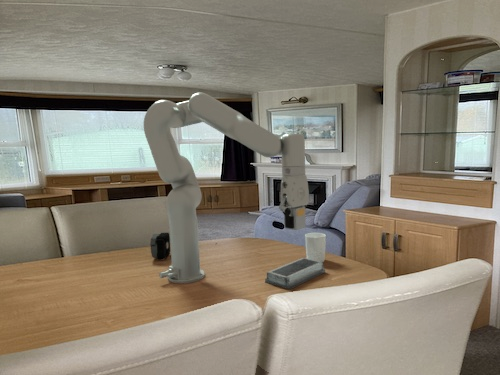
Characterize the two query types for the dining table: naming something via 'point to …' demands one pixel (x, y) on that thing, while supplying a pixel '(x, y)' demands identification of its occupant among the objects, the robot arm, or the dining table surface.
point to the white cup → (315, 246)
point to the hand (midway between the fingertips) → (294, 225)
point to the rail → (295, 273)
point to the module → (298, 218)
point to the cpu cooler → (160, 245)
